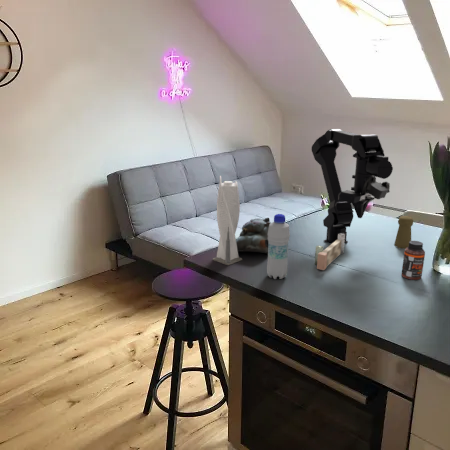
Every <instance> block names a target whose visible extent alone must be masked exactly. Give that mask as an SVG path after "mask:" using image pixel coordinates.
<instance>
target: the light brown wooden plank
mask: <svg viewBox="0 0 450 450" xmlns="http://www.w3.org/2000/svg"><path fill="white" fill-rule="evenodd" d="M341 242H342V240H338V239H337V240H336V241H335V242H333V243H332V244H329V245H328V246H327V247H326V248H325V249H323V251H322V252H320V253H319V254H318V259H317V265H316V270H320V271H325V270H326V269H327V267H328V266H329V265H330V264H332V262H333V261H335V260H336V258H338V257H339V256H340V255H342V254H341Z"/></svg>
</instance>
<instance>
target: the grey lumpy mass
mask: <svg viewBox="0 0 450 450" xmlns="http://www.w3.org/2000/svg"><path fill="white" fill-rule="evenodd" d="M270 223H272V222H271V221H270V218H269V217H266V218H258V217H257V218H256V217H255V218H251V219H250V220H249V221H246V222H245V223H244V224H243V225H242V227H241V231H240V233H239V236H238V237H237V238H236V244H237V250H238V252H252V253H259V254H260V253H261V254H265V255H268V243H269V241H268V235H267V234H268V229H269V224H270Z"/></svg>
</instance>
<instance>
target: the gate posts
mask: <svg viewBox="0 0 450 450" xmlns="http://www.w3.org/2000/svg"><path fill="white" fill-rule="evenodd" d="M338 240H342V242H341V254H340V255H344V252H345V244H344V242H345V234H344V233H338ZM322 251H324V246H323V245H316V246H315V256H314V265H315V266H317V259H318V254H319V253H320V252H322Z"/></svg>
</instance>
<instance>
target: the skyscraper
mask: <svg viewBox="0 0 450 450" xmlns="http://www.w3.org/2000/svg"><path fill="white" fill-rule="evenodd" d="M238 184H239V183H238V181H237V180H235V181H234V182H233V181H231V180H225V181H223V182H222V175H219V184H218V185H219V186H218V191H217V198H216V199H217V200H216V218H217V220H216V221H217V227H218V231H219V241H218V247H217V251H216V257H213V258H212V261H214V262H218V263H220V264H223V265H225V266H230V265H233V264H235V263H237V262H238V263H239V262H240V261H243V258H242V257H240V256H239V251H238V250H237V244H236V239H237V238H236V231H237V229H238V225H239V219H240V212H241V211H240V209H241V208H240V207H241V206H240V205H241V204H240V202H241V201H240V193H239V187H238V186H239V185H238Z"/></svg>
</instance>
